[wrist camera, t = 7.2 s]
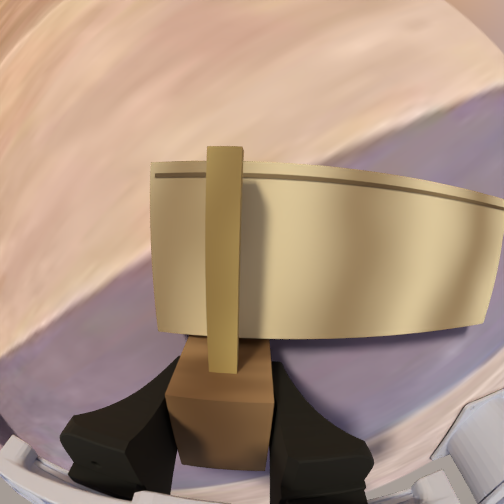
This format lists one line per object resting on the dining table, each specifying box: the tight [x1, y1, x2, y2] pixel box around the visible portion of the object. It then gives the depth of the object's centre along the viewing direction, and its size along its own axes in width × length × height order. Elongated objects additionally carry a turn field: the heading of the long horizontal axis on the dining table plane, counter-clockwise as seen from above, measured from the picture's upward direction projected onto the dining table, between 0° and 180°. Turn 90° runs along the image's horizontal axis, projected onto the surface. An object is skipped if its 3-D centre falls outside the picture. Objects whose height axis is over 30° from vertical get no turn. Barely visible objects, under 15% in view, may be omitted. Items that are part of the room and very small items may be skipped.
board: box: [150, 161, 504, 339], centre depth 11 cm, size 17×7×2 cm, turn 88°
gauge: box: [165, 146, 274, 471], centre depth 10 cm, size 4×12×6 cm, turn 178°
